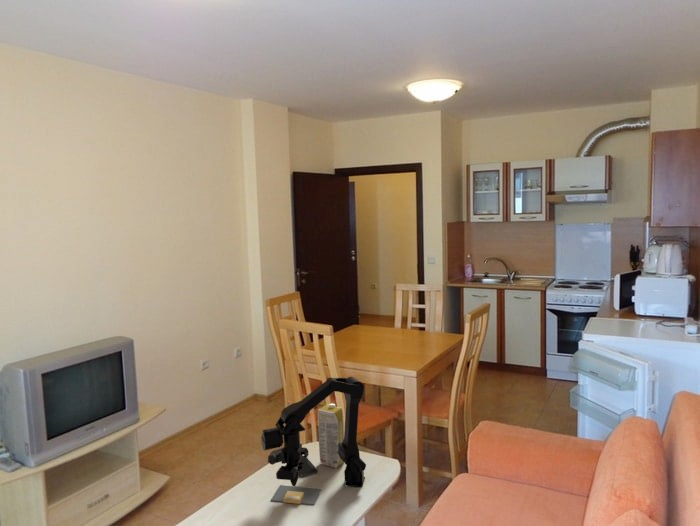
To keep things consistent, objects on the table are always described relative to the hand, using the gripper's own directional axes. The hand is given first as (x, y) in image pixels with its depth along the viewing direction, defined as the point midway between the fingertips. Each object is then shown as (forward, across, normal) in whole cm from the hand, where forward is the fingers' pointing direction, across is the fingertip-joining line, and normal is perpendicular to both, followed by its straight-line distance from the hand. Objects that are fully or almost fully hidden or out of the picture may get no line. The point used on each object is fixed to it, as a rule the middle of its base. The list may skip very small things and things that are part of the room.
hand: (294, 485), depth 188 cm
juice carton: (+5, -27, +7) cm, 28 cm away
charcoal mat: (+5, -2, 0) cm, 5 cm away
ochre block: (+4, -1, 0) cm, 4 cm away
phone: (+5, -22, -4) cm, 23 cm away
